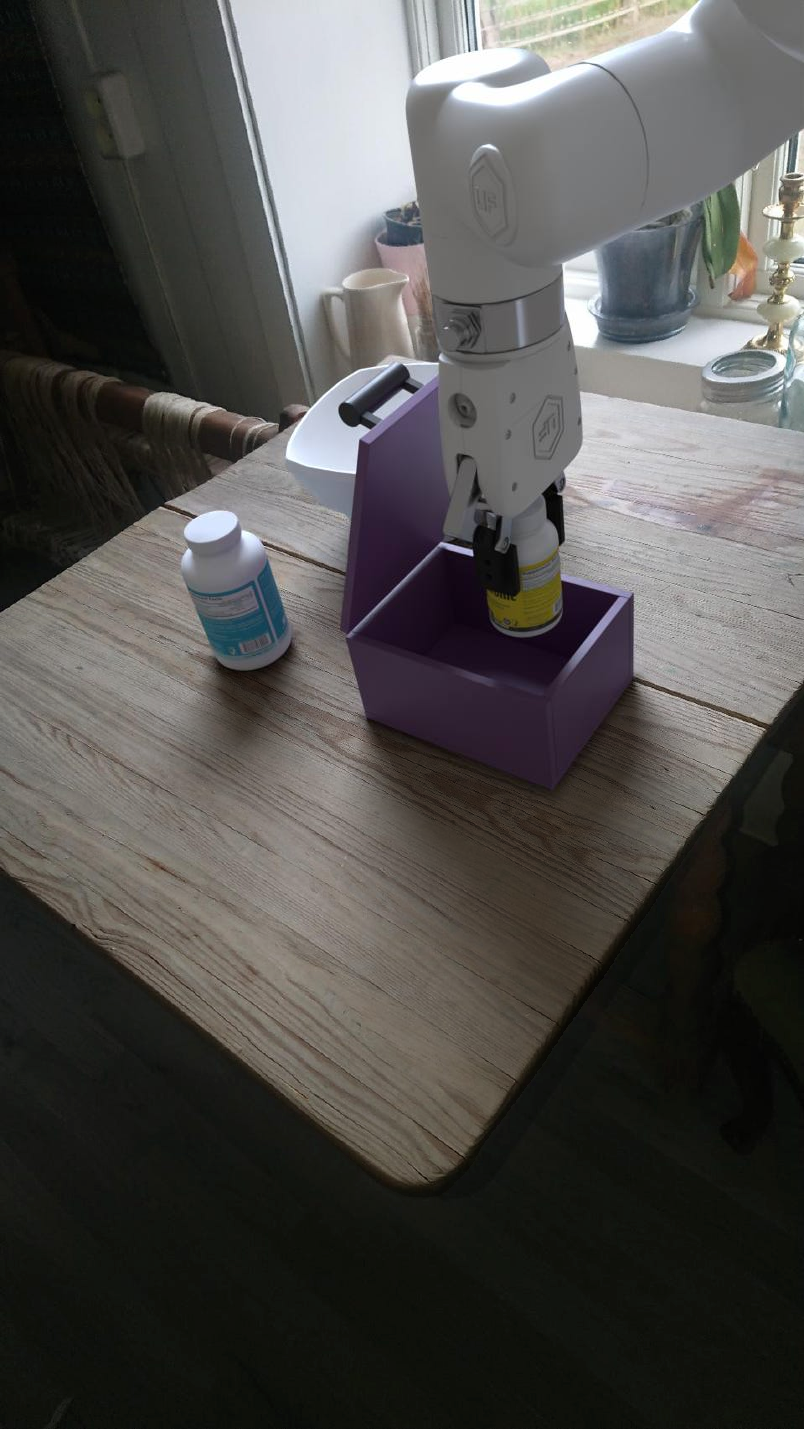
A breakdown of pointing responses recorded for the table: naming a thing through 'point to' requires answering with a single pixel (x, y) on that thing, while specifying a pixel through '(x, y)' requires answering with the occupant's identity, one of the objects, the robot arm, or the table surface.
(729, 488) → the table surface
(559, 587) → the supplement bottle
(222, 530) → the pill bottle
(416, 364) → the bowl
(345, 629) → the lid
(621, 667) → the purple box
